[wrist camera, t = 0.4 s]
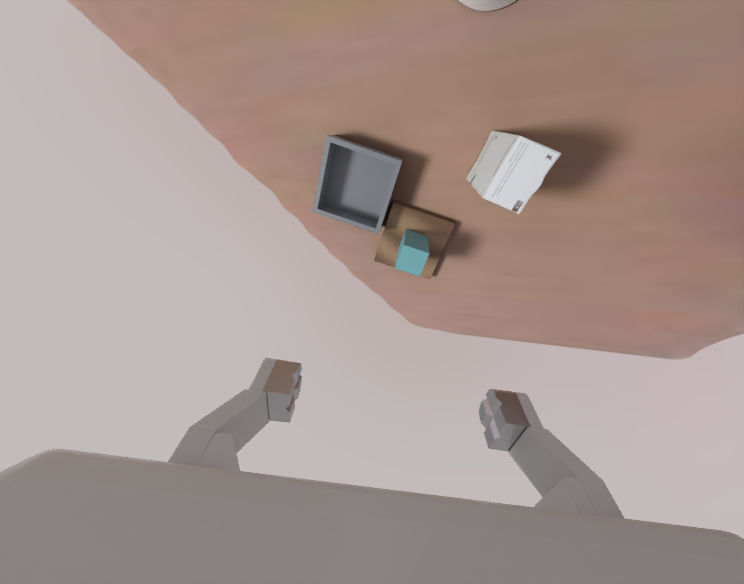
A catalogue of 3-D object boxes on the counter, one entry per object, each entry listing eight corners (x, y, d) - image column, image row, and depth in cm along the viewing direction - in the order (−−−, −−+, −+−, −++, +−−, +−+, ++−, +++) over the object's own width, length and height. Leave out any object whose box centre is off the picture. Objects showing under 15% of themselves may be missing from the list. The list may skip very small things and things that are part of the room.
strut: (405, 228, 54) (403, 244, 47) (427, 236, 54) (429, 253, 47) (398, 249, 57) (395, 268, 49) (419, 256, 57) (419, 276, 49)
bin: (334, 135, 50) (326, 135, 45) (403, 158, 50) (402, 161, 46) (320, 205, 56) (312, 211, 52) (381, 226, 56) (378, 234, 52)
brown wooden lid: (393, 201, 54) (391, 206, 49) (454, 221, 54) (457, 229, 50) (375, 257, 60) (371, 267, 55) (429, 275, 60) (430, 286, 56)
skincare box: (491, 130, 46) (520, 128, 33) (524, 145, 47) (565, 150, 34) (464, 181, 50) (480, 197, 38) (495, 195, 51) (521, 216, 38)
